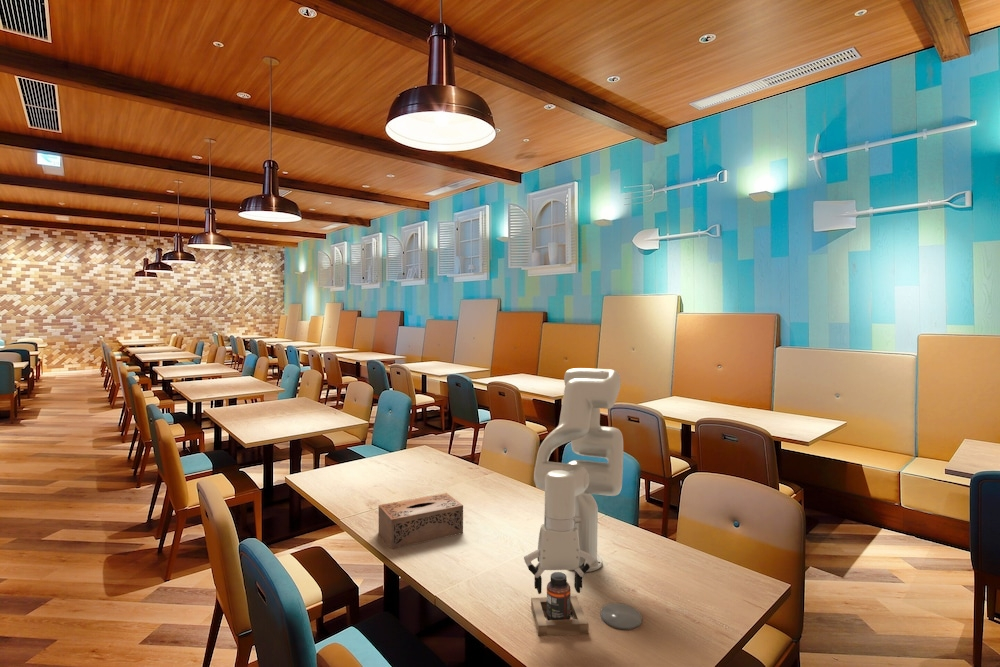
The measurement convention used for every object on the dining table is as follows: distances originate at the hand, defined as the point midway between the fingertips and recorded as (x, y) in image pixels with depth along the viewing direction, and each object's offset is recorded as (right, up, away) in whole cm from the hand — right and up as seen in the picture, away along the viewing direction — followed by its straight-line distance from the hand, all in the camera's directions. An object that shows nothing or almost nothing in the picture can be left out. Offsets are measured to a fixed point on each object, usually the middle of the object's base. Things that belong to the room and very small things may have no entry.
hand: (558, 590), depth 126 cm
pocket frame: (0, -8, +1) cm, 8 cm away
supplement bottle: (0, -8, +1) cm, 8 cm away
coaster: (+16, -8, +2) cm, 18 cm away
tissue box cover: (-42, -6, +52) cm, 67 cm away
